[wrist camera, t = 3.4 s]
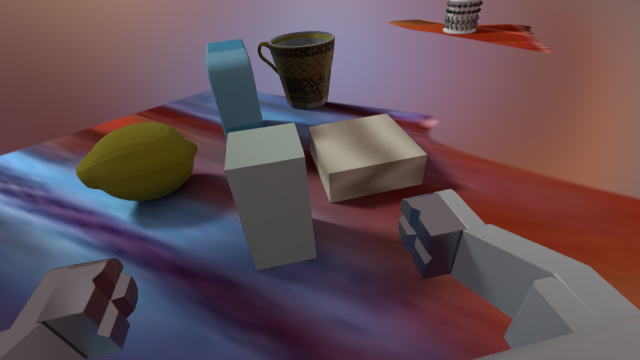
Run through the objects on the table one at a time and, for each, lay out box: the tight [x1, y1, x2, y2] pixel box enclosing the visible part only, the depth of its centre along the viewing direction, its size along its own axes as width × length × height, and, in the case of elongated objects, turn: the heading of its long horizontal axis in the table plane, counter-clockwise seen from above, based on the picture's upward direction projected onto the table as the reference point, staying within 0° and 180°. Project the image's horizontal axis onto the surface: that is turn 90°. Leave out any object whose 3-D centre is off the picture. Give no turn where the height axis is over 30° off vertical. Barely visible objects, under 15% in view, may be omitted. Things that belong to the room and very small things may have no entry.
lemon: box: [76, 122, 197, 201], centre depth 31 cm, size 11×8×8 cm
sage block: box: [224, 123, 317, 270], centre depth 24 cm, size 5×5×10 cm
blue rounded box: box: [206, 39, 264, 139], centre depth 39 cm, size 12×4×12 cm, turn 17°
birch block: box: [308, 114, 427, 203], centre depth 34 cm, size 10×10×4 cm
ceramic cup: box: [258, 31, 335, 109], centre depth 49 cm, size 13×10×10 cm
